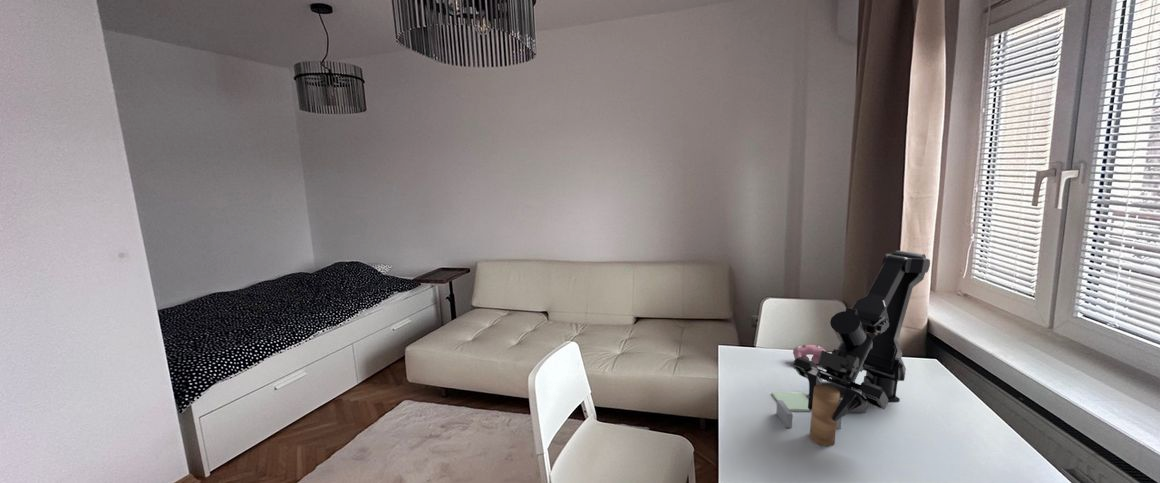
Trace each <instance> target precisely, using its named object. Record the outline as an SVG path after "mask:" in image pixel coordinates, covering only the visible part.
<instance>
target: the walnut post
mask: <svg viewBox="0 0 1160 483" xmlns="http://www.w3.org/2000/svg"><path fill="white" fill-rule="evenodd" d="M839 397H840V392H839V390H837V389H836V388H834V387H832V386H829V385H823V384H819V385H815V386H814V392H813V403H812V411H811V417H810V427H809V438H810V440H811V441H812V442H813V443H815V444H818V445H820V446H822V447H831V446H834V445H835V443H836V434H837V428H836V426H837V421H833V416H834V413H835V411H836V410H837V408H838V406H839Z"/></svg>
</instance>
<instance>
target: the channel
mask: <svg viewBox="0 0 1160 483" xmlns="http://www.w3.org/2000/svg"><path fill="white" fill-rule="evenodd" d="M776 414H777V416H778V417H779V419H780V420H781V422H782V424H783V426H784V427H785V428H786V429H789V428H790V429H792V427H793V415H794V414H793V412H792V411H790V410H789V409H788V407H787V406H786V404H785V403H784V402H783V400H777V401H776ZM842 420H843V417H841V418H840V419H838V420H837V426H836V429H839V430H840V429H842Z"/></svg>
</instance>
